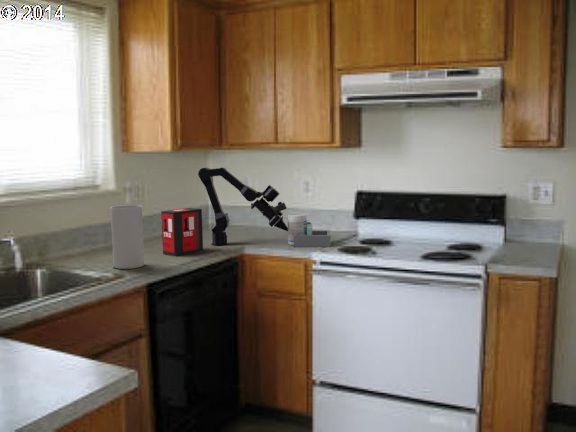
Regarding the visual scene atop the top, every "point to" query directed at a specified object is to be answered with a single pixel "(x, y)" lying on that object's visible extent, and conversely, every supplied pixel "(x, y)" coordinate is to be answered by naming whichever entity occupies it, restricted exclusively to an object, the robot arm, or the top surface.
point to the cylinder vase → (127, 236)
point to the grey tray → (313, 239)
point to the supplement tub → (296, 226)
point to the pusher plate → (309, 229)
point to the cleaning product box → (182, 231)
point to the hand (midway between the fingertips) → (288, 230)
